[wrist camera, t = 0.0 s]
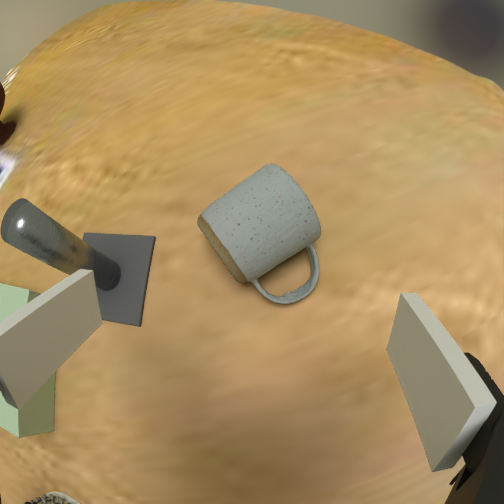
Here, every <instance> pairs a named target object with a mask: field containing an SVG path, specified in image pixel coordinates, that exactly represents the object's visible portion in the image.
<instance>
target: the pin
mask: <svg viewBox="0 0 504 504" xmlns="http://www.w3.org/2000/svg"><path fill="white" fill-rule="evenodd" d="M1 236H2V239H3V240H4V241H5V242H6V243H8V244H10V245H12V246H14V247H16V248H17V249H19V250H21V251H23V252H25V253H27V254H29V255H31V256H32V257H34V258H36V259H38V260H40V261H42V262H44V263H46V264H48V265H50V266H52V267H54V268H56V269H58V270H60V271H62V272H64V273H66V274H69V275H71V274H73V273H75V272H76V271H78V270H79V269H86V270H93V273H94V280H95V286H96V287H97V288H99V289H101V290H104V291H109V290H112V289H114V288H115V287H116V286H117V285H118V283H119V281H120V278H121V270H120V267H119V265H118V264H117V263H116V262H114V261H113V260H111V259H110V258H108V257H107V256H105V255H104V254H102V253H101V252H99V251H98V250H96V249H95V248H93V247H92V246H90V245H89V244H87V243H86V242H85V241H83V240H82V239H80V238H79V237H77V236H76V235H74V234H73V233H72V232H70V231H69V230H67V229H66V228H64V227H63V226H62V225H60V224H59V223H57V222H56V221H55V220H53V219H52V218H51V217H49V216H48V215H47V214H45V213H44V212H42V211H41V210H40V209H38V208H37V207H36V206H34V205H33V204H32V203H30V202H29V201H28V200H26V199H23V198H22V199H18V200H17V201H15V202H14V203H13V204H12V205H11V206H10V207H9V208H8V210H7V211H6V213H5V215H4V217H3V220H2V224H1Z"/></svg>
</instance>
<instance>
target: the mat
mask: <svg viewBox="0 0 504 504" xmlns="http://www.w3.org/2000/svg"><path fill="white" fill-rule="evenodd" d="M155 239H156V237H155V236H142V235H122V234H101V233H84V236H83V241H85V242H86V243H87V244H89V245H90V246H92V247H93V248H95V249H96V250H98V251H99V252H101V253H102V254H104V255H105V256H107V257H108V258H110V259H111V260H113V261H114V262H116V263H117V264H118V265H119V267H120V270H121V278H120V281H119V283H118V285H117V286H116V287H115V288H114V289H112V290H109V291H104V290H101V289H99V288H97V287H96V292H97V298H98V303H99V308H100V313H101V318H102V320H108V321H113V322H118V323H124V324H130V325H136V326H141V321H142V314H143V307H144V300H145V294H146V288H147V282H148V276H149V270H150V265H151V259H152V254H153V249H154V244H155Z"/></svg>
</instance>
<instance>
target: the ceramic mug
mask: <svg viewBox="0 0 504 504" xmlns="http://www.w3.org/2000/svg"><path fill="white" fill-rule="evenodd" d="M197 224H198V227H199V228H200V230H201V231H202V232H203V234H204V235H205V237H206V238H207V240H208V241H209V243H210V244H211V245H212V247H213V248H214V250H215V251H216V252H217V254H218V255H219V257H220V258H221V260H222V261H223V262H224V264H225V265H226V267H227V268H228V270H229V271H230V272H231V274H232V275H233V277H234V278H235V280H236V281H238V282H240V283H247V282H252V283H253V284H254V286H255V288H256V289H257V290H258V291H259V292H260V293H261V294H262V295H263V296H265V297H266V298H267V299H269V300H271V301H273V302H276V303H280V304H290V303H293V302H297V301H299V300H301V299H302V298H304V297H306V296H307V295H308V294H309V293H310V292H311V291H312V290H313V289H314V287H315V286H316V284H317V281H318V276H319V262H318V257H317V254H316V251H315V248H314V246H313V242H314V241H316V240H317V239H318V238H319V237H320V235H321V226H320V222H319V219H318V217H317V214H316V212H315V210H314V208H313V206H312V204H311V203H310V201H309V199H308V197H307V196H306V194H305V193H304V191H303V190H302V188H301V187H300V186H299V185H298V183H297V182H296V181H295V180H294V179H293V178H292V177H291V176H290V175H289V174H288V173H287V172H286V171H285V170H284V169H282V168H281V167H280V166H278V165H276V164H272V163H271V164H267V165H265V166H263V167H262V168H261V169H259V170H258V171H256V172H255V173H254V174H252V175H251V176H249V177H248V178H246V179H245V180H244V181H242V182H241V183H239V184H238V185H236V186H235V187H234V188H233V189H231V190H230V191H229V192H227V193H226V194H224V195H223V196H221V197H220V198H219V199H217V200H216V201H214V202H213V203H212V204H211V205H209V206H208V207H207V208H206V209H205V210H204V211H203V213H202V214H201V215H200V216H199V217H198V221H197ZM304 248H306V249H307V252H308V254H309V257H310V262H311V276H310V279H309V280H308V281H307V282H306V284H305V285H303V286H301V287H299V288H298V289H296V290H294V291H292V292H290V293H288V292H286V293H285V294H284V295H283V296H281V297H277V296H274V295H271V294H269V293H268V292H267V291H265V290H264V289H263V288H262V287H261V285H260V284H259V283H258V278H259V277H261V276H262V275H264V274H265V273H267V272H268V271H270V270H271V269H273V268H274V267H276V266H277V265H278V264H280V263H282V262H283V261H285V260H286V259H288V258H290V257H291V256H293V255H295V254H296V253H298V252H299V251H301V250H302V249H304Z"/></svg>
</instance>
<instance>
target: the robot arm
mask: <svg viewBox="0 0 504 504" xmlns="http://www.w3.org/2000/svg"><path fill="white" fill-rule="evenodd" d="M102 324H103V323H102V318H101V313H100V308H99V303H98V298H97V292H96V286H95V280H94V273H93V270H86V269H79V270H78V271H76V272H75V273H73V274H71V275H70V276H68V277H67V278H65V279H64V280H62V281H60V282H59V283H57V284H56V285H54V286H53V287H51V288H50V289H48V290H47V291H45V292H44V293H42V294H40V295H39V296H37V297H36V298H34V299H33V300H32V301H30V302H29V303H27V304H26V305H24V306H23V307H21V308H20V309H18V310H17V311H15V312H14V313H13V314H11V315H10V316H8V317H7V318H5V319H4V320H3V321H1V322H0V391H1V393H2V395H3V397H4V399H5V401H6V403H8V404H9V405H11V406H13V407H15V408H16V409H18V410H20V409H21V408H22V407H23V406H24V405H25V403H26V402H27V401H28V400H29V399H30V398H31V397H32V396H33V395H34V394H35V393H36V392H37V390H38V389H39V388H40V387H41V386H42V385H43V384H44V383H45V382H46V381H47V380H48V379H49V378H50V377H51V376H52V374H53V373H54V372H55V371H56V370H57V369H58V368H59V367H60V366H61V365H62V364H63V363H64V362H65V361H66V360H67V359H68V358H69V357H70V356H71V355H72V354H73V353H74V352H75V351H76V350H77V349H78V348H79V347H80V346H81V345H82V344H83V343H84V342H85V341H86V340H87V339H88V338H89V337H90V336H91V335H92V334H93V333H94V332H95V331H96V330H97V329H98V328H99V327H100V326H101V325H102ZM386 350H387V352H388V355H389V357H390V360H391V362H392V364H393V367H394V369H395V372H396V374H397V377H398V379H399V381H400V384H401V387H402V389H403V392H404V394H405V397H406V399H407V402H408V405H409V407H410V410H411V413H412V415H413V418H414V421H415V423H416V426H417V429H418V432H419V435H420V438H421V441H422V443H423V446H424V449H425V452H426V455H427V458H428V462H429V465H430V468H431V471H432V472H435V471H440V470H444V469H449V468H453V467H454V465H455V464H456V463H457V461H458V460H459V459H460V458H461V456H463V458H464V461H465V463H466V464H465V465H464V466H463V468H462V469H461V470H460V471H459V473H458V474H457V475H456V476H455V477H454V478H453V480H452V481H451V482H450V483H449V484H450V485H452V484H453V483H454V482H455V481H456V482H455V484H454V486H453V488H452V490H451V492H450V494H449V496H448V498H447V500H446V502H445V504H504V395H503V394H502V392H501V391H500V389H499V388H498V386H497V385H496V384H495V382H494V381H493V379H491V376H490V375H489V374H488V372H486V371H485V368H484V367H483V365H482V364H481V363H480V361H479V360H478V359H476V358H475V357H474V356H472V355H471V354H470V353H463V352H462V350H461V349H460V348H459V346H458V345H457V344H456V342H455V341H454V340H453V338H452V337H451V336H450V334H449V333H448V332H447V330H446V329H445V328H444V326H443V325H442V324H441V322H440V321H439V320H438V319H437V317H436V316H435V315H434V314H433V312H432V311H431V310H430V309H429V307H428V306H427V305H426V304H425V302H424V301H423V300H422V299H421V297H420V296H419V295H418V294H417V293H401V294H400V298H399V303H398V307H397V311H396V315H395V319H394V323H393V327H392V331H391V335H390V339H389V342H388V346H387V349H386ZM0 504H1V496H0Z"/></svg>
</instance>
